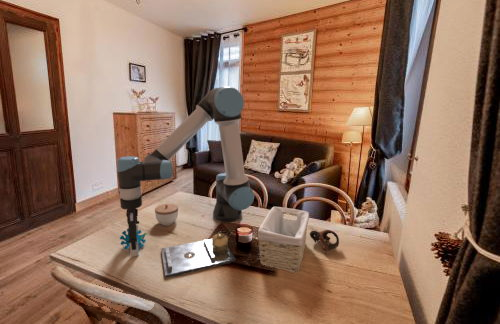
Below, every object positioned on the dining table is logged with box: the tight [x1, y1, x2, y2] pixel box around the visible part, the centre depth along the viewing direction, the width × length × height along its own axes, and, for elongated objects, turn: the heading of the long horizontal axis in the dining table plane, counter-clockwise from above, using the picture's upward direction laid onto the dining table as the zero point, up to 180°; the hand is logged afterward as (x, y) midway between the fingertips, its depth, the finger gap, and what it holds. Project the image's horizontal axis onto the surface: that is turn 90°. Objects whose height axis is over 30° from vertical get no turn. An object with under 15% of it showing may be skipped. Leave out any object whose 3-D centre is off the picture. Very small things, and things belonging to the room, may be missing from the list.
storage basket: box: [257, 206, 310, 273], centre depth 97 cm, size 24×16×15 cm
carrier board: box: [160, 232, 236, 279], centre depth 95 cm, size 25×17×7 cm
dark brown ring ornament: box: [309, 229, 340, 253], centre depth 104 cm, size 12×10×8 cm
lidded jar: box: [154, 203, 179, 226], centre depth 121 cm, size 11×11×9 cm
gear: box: [119, 227, 147, 252], centre depth 101 cm, size 11×6×10 cm
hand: (135, 247), depth 100 cm, fingers open, 12 cm apart
